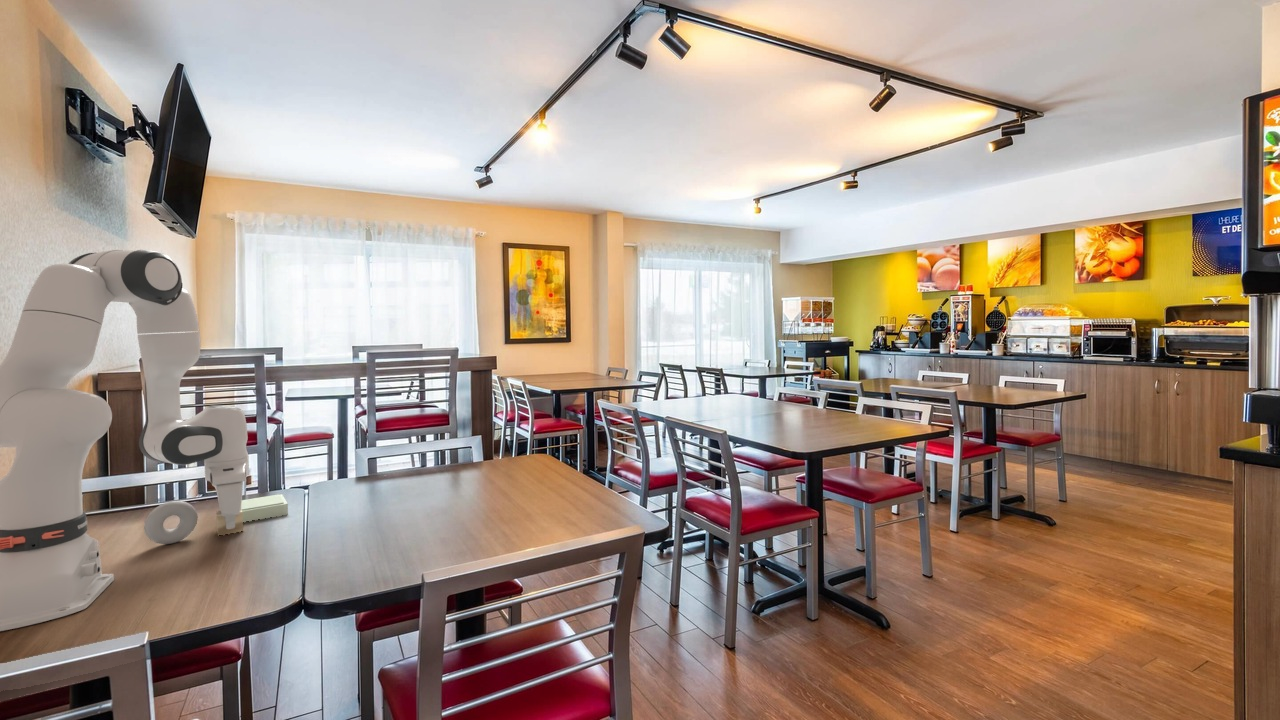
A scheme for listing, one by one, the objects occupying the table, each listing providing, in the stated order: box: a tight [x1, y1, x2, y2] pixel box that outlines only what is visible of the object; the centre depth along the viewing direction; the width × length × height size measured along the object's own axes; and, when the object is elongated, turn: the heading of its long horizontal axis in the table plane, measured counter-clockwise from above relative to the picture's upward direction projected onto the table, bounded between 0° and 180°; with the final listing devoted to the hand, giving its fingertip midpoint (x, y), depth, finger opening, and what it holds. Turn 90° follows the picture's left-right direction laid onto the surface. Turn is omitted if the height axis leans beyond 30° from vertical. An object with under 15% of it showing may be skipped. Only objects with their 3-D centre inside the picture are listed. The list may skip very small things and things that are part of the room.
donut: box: [143, 500, 199, 545], centre depth 132 cm, size 10×4×10 cm, turn 147°
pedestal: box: [241, 493, 289, 523], centre depth 153 cm, size 12×12×3 cm
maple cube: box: [215, 509, 244, 537], centre depth 139 cm, size 5×5×5 cm
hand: (229, 524), depth 139 cm, fingers closed on maple cube, 5 cm apart
